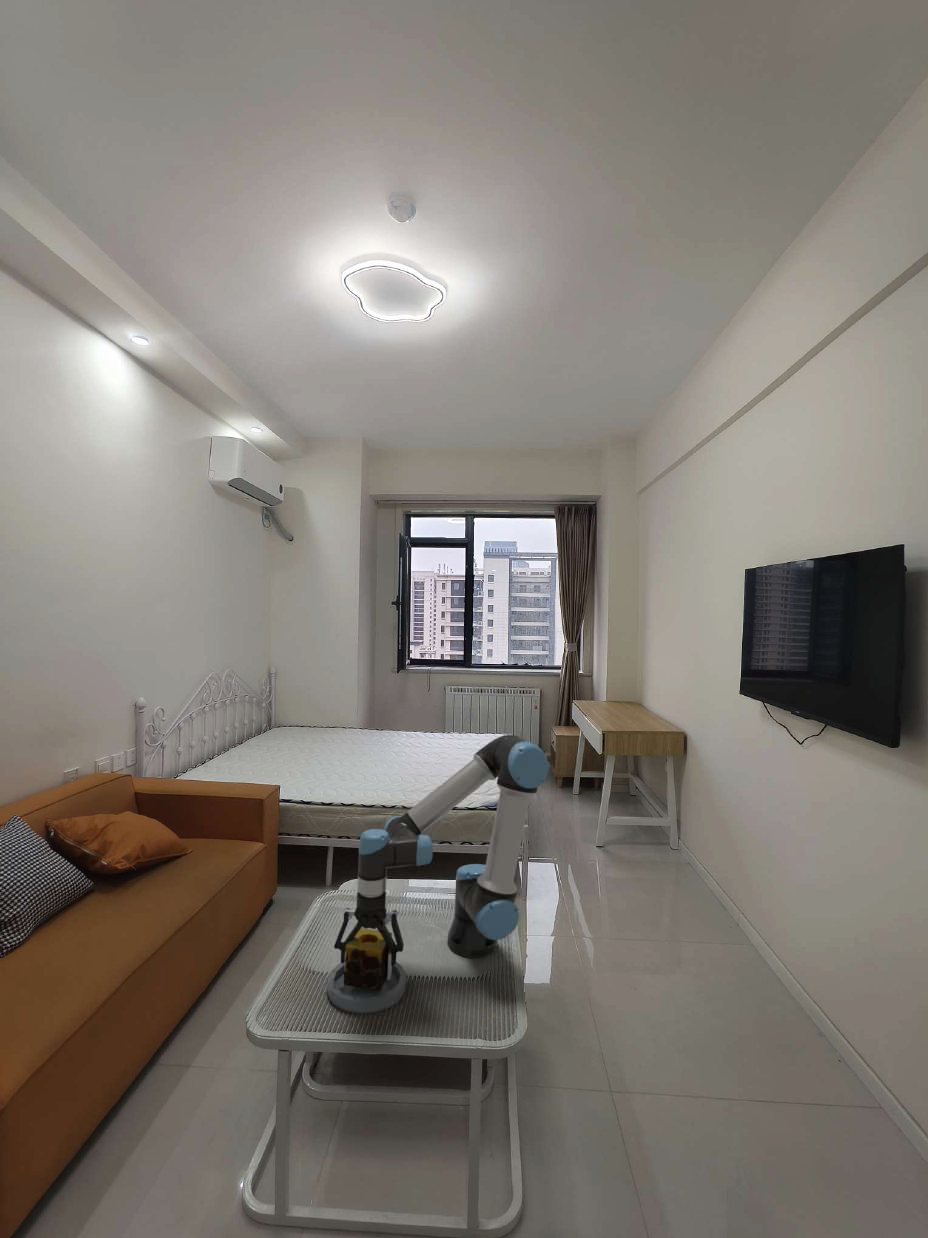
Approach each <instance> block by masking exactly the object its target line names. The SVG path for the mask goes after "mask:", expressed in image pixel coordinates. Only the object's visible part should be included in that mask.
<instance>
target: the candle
mask: <svg viewBox="0 0 928 1238" xmlns="http://www.w3.org/2000/svg"><path fill="white" fill-rule="evenodd" d="M389 933H390V935H391V936H392V937H393V932H390V931H389ZM389 950H390V949H389V947H388V946H387V944H386V942H385V940H384V939H383V937H382V935H381V933H380V932H379V931H378V929H371V928H367V929H366V928H364V927H361V929H360V930H359V931H358V933H357V934H356V936H355V937H354V939H353V940H352V941H349V942H348V944H347V945H346V959H345V970H344V982H343V983H344V985H347V986H353V987H358V988H370V989H373V990H377V991H380V990H381V988H382V986H383V985H384V982H385V981H386V978H387V975H388V954H389Z"/></svg>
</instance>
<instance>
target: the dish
mask: <svg viewBox="0 0 928 1238" xmlns="http://www.w3.org/2000/svg"><path fill="white" fill-rule="evenodd" d="M343 982H344V963H341V962H339V963H338V964H337V965H336V966H335V967H334V968H333V969H331V970H330V972H329V976H328V978H327V985H326V986H327V995H328V998H329V1001H330V1002H331V1003H332V1004H333V1005H334V1006H335V1007H336V1008H338V1009H339V1010H342V1011H345V1012H347V1013H351V1014H360V1015H363V1014H364V1015H367V1014H375V1013H379V1012H383V1011H385V1010H387V1009H390V1008H391V1007H393V1006H395V1005H396V1004H397V1003H399V1002H400V1001H401V999H402V998H403V996H404V994H405V992H406V983H407V973H406V970H405V969H404V967H403V965H401V964H400V963H399V962H397V961H396V964H395V965H392V973H391V978H390V980H387V978H386V981H385V982H384V985H383V986H382V988H381V990H380V991H377V990H373V989H370V988H358V987H353V986H347V985H344V983H343Z"/></svg>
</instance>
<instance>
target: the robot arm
mask: <svg viewBox="0 0 928 1238" xmlns="http://www.w3.org/2000/svg"><path fill="white" fill-rule="evenodd" d="M549 767H550V766H549V760H548V757H547V755H546V753H545V752H544V751H543V749H541V748H540V747H539V746H538V745H536V744H535V743H534V742H531V741H529V740H526V739H524V738H521V737H520V736H517V735H514V734H505V735H501V736H499V737H497V738H495V739H493V740H492V741H490V742H488V743H486V745H484V746H483V747H481V748H480V749H479V750H478V751H476V752H475V753H474V754H473V759H472V760H470V761H469V762H468V763H467V764H466V765H464V766H463V767H462V768H460V770H458V771H457V772H455V773H454V774H453V775H452V776H451V777H449V778H448V779H446V780H445V781H444V782H443V783H442V784H441V785H439V786H438V787H436V788H435V789H434V790H433V791H431V792H430V793H429V794H428V795H426V796H425V797H424V798H423V799H422V800H420V801H419V802H418V803H416V804H415V805H414V806H413V807H411V808H410V809H408V811H407V812H405V813H404V814H403V815H401V816H400V815H399V816H398V815H397V816H392V817H390V818H389V819H387V821H386V823H385V825H384V828H383V829H382V828H380V829H377V828H372V829H367V830H365V831H363V832H362V833H361V835H360V838H359V847H358V870H357V871H358V872H357V884H356V885H357V888H356V889H357V893H356V908H355V909H351V908H349V907H347V908H345V910H344V913H343V922H342V923H341V924H342V925H341V927H340V929H339V932H338V935H337V937H336V940H335V943H334V945H333V948H334V949H336V950H339V951H340V963H344V970H345V959H346V945H347V944H348V942H349V941H352V940H353V939H354V937H355V936H356V934H357V933H358V931H359V930H360V929H361V928H363V929H371V930H378V931H379V932H380V933H381V935H382V937H383V939H384V940H385V942H386V944H387V946H388V947H389V949H390V950H389V954H388V975H387V980H390V978H391V973H392V965H395V964H396V962H397V953H399V952H400V953H402V952H403V951H404V947H405V946H404V945H405V944H404V943H405V942H404V939H403V936H402V933H401V929H400V926H399V922H398V919H397V918H398V911H397V910H395V909H394V910H393V911H388V910H387V911H386V908H385V904H386V892H385V891H386V890H387V880H388V869H393V868H403V867H406V868H407V867H420V866H422V865H423V866H424V865H429V864H430V863H431V862H432V859H433V857H434V856H433V855H434V848H433V847H434V846H433V842H432V838H431V837H430V836H429V835H428V834H423V833H424V832H425V831H426V830H428V829H429V828H430V827H431V826H433V825H434V824H435V823H436V822H438V821H439V820H440V819H441V818H443V817H444V816H445V815H446V814H448V813H449V812H450V811H451V810H453V809H454V808H455V807H456V806H458V805H459V804H461V802H462V801H464V800H465V799H467V798H468V796H470V795H471V794H472V793H474V792H475V791H476V790H478V788H480V787H481V786H483V785H484V784H485V783H486V782H487V781H494V780H496V779H497V781H496V785H497V787H498V789H499V790H500V792H499V797H498V801H497V805H496V806H497V808H496V811H495V818H494V820H493V821H494V822H493V825H492V826H493V827H492V830H491V831H492V832H491V837H490V841H489V846H488V852H487V856H486V860H485V864H480V863H470V864H465V865H462V866H460V867H459V868H458V869H457V870H456V875H455V895H454V917H453V920H452V922H451V925H450V928H449V930H448V933H447V942H446V943H447V946H448V948H449V950H451V951H452V952H453V953H454V954H455V953H456V954H457V955H459V956H463V957H466V958H467V957H468V958H482V956H483V957H487V956H489V955H491V954H493V953H494V952H495V951H496V950H497V948H498V941H499V940H503V939H505V938H507V937H508V936H509V935H511V934H512V933H513V932H514V931H515V930H516V928H517V926H518V924H519V920H520V912H519V909H518V906H517V905H516V898H517V895H518V894H517V893H518V887H517V885H516V883H515V881H514V879H515V875H516V869H517V865H518V859H519V856H520V849H521V844H522V839H523V835H524V829H525V825H526V820H527V814H528V808H529V804H530V799H531V798H532V797H533V796H534V795H536V794H537V793H538V788H539V786H540V785H541V784H542V783H543V782H545V780H546V779H547V776H548V774H549ZM353 917H355V919H356V921H357V922H356V924H355V925H354V927H353V928H352V930H351V931H350V932H349V934H348V935H347V937H345V938H346V939H345V940H344V941H342V939H343V936H344V934H345V931H346V929H347V927H348V924H349V921H350V920H352V918H353ZM386 918H387V919H388V921H389V922H390V923H391V924H390V925H391V928H392V934H393V935H392V936H391V935H390V933H389V932H390V931H389V929H388V928H387V926H386V923H385V919H386ZM393 936H394V938H393ZM394 939H395V940H394ZM496 947H497V948H496ZM495 949H496V950H495ZM494 950H495V951H494ZM493 951H494V952H493ZM492 952H493V953H492ZM490 953H491V954H490ZM488 954H489V955H488ZM486 955H487V956H486Z"/></svg>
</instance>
